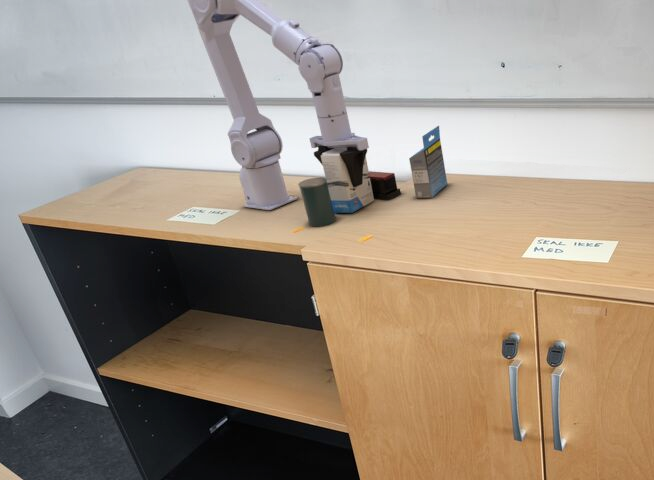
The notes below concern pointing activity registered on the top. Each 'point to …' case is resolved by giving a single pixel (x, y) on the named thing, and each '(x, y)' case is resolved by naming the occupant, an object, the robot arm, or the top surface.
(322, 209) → the pen tin
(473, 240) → the top surface
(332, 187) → the ink box
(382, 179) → the black and red block
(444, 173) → the blue grey hanging carton
